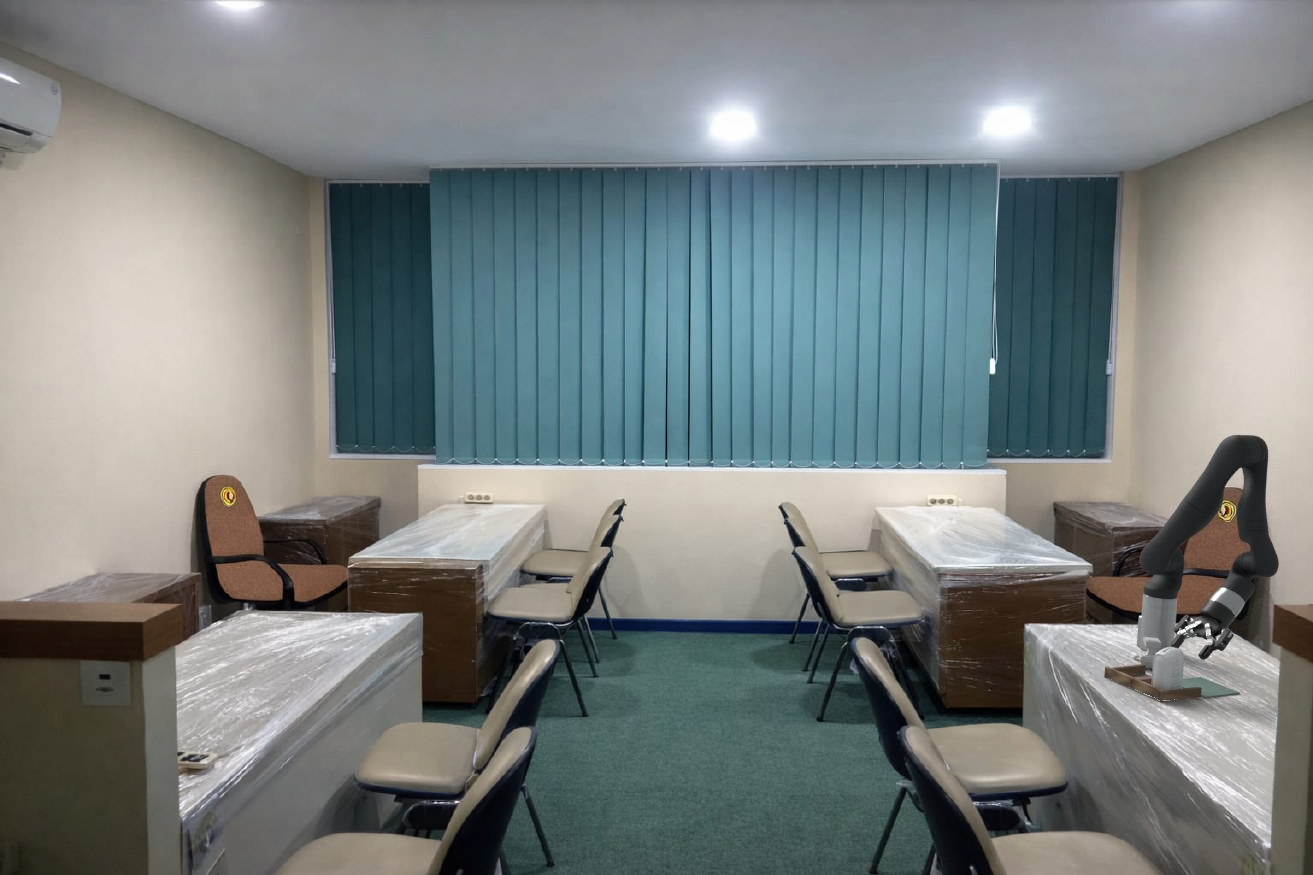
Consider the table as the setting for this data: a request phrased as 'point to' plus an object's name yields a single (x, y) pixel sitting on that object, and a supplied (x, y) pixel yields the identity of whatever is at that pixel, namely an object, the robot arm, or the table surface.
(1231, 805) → the table surface
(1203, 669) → the table surface
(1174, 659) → the photo printer
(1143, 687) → the lane rack
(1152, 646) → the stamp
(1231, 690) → the mat
